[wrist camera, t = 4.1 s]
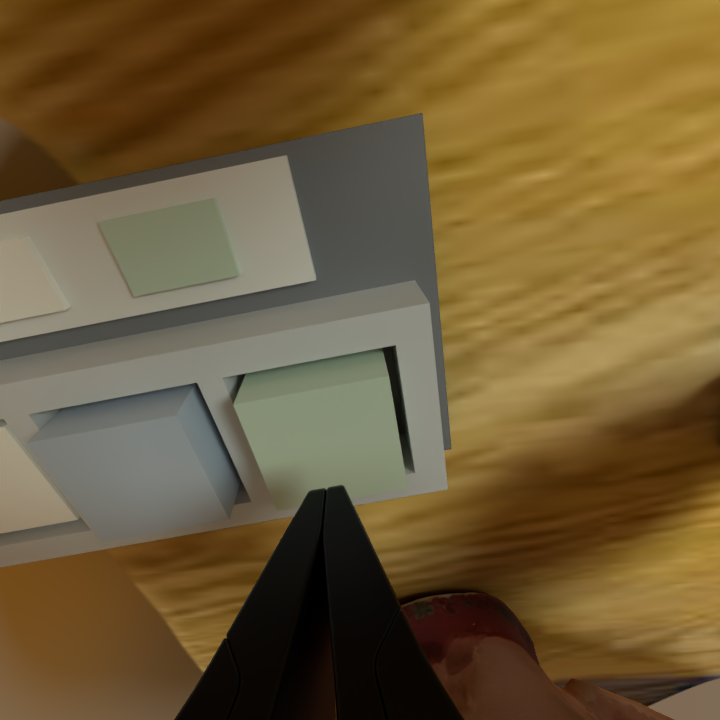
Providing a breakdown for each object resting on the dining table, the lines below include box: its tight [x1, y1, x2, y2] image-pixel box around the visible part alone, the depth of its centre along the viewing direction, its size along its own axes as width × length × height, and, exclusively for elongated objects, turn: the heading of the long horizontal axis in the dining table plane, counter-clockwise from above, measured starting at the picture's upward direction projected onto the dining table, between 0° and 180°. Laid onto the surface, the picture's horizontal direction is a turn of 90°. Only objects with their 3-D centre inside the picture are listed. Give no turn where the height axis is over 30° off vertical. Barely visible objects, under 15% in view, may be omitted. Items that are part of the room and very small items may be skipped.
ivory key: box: [0, 419, 80, 534], centre depth 13 cm, size 4×4×2 cm
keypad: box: [0, 113, 451, 568], centre depth 12 cm, size 19×11×3 cm, turn 100°
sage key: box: [233, 348, 408, 511], centre depth 11 cm, size 4×4×2 cm
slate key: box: [26, 383, 241, 542], centre depth 11 cm, size 4×4×2 cm
